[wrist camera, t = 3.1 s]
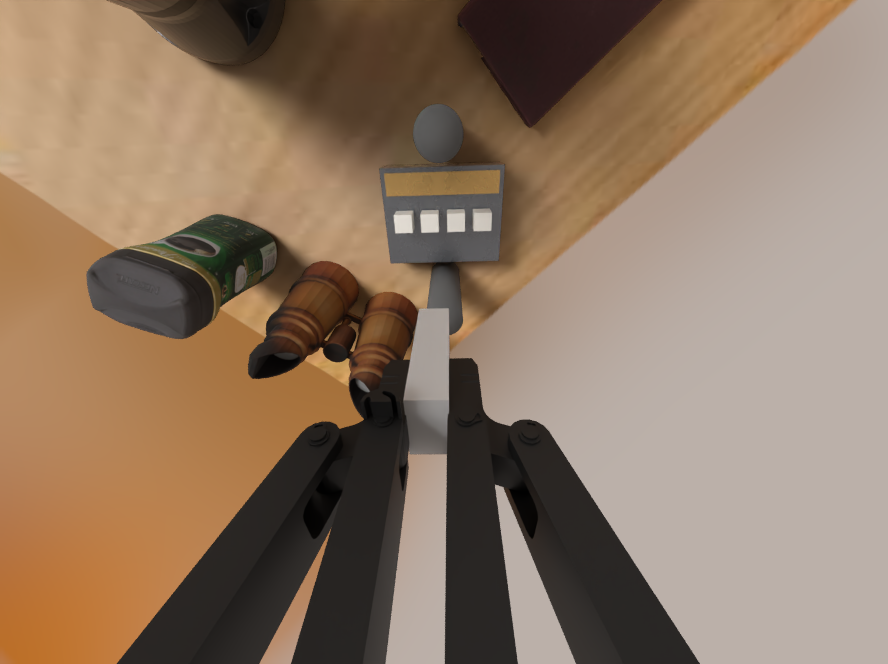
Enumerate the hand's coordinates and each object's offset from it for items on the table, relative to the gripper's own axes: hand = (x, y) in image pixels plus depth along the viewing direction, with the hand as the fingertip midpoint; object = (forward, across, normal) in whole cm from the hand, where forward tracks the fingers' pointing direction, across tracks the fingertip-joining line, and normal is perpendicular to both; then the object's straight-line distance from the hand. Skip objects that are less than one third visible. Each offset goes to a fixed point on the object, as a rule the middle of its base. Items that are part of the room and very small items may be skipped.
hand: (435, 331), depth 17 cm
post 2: (+30, 0, -8) cm, 31 cm away
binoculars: (+30, -13, -13) cm, 35 cm away
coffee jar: (+30, -28, -4) cm, 41 cm away
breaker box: (+30, 0, 0) cm, 30 cm away
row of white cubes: (+26, 0, 0) cm, 26 cm away
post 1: (+30, 0, +9) cm, 31 cm away
